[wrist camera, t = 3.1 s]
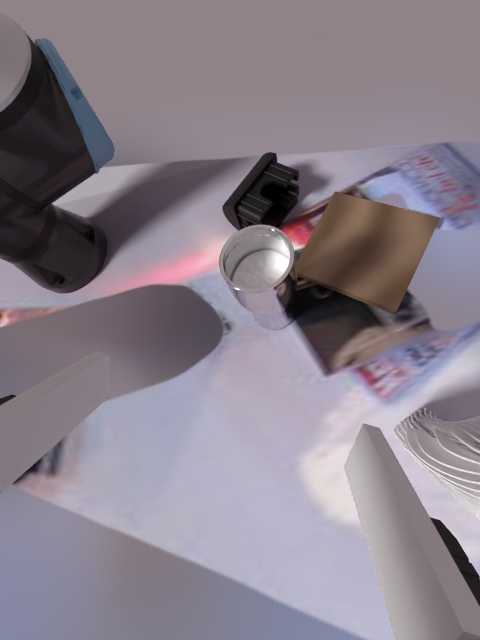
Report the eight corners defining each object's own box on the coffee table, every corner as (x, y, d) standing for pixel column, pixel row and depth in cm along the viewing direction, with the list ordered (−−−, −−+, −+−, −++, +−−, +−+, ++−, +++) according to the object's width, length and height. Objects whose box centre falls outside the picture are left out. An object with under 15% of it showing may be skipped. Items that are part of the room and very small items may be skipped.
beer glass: (309, 307, 34) (314, 250, 20) (274, 343, 34) (255, 311, 20) (272, 278, 36) (255, 208, 22) (240, 311, 36) (201, 263, 22)
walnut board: (292, 274, 36) (292, 270, 34) (334, 197, 37) (334, 191, 36) (393, 313, 31) (396, 311, 30) (435, 223, 33) (439, 218, 32)
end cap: (265, 183, 41) (258, 145, 35) (300, 198, 39) (300, 161, 32) (229, 228, 41) (216, 198, 34) (263, 247, 38) (255, 218, 32)
